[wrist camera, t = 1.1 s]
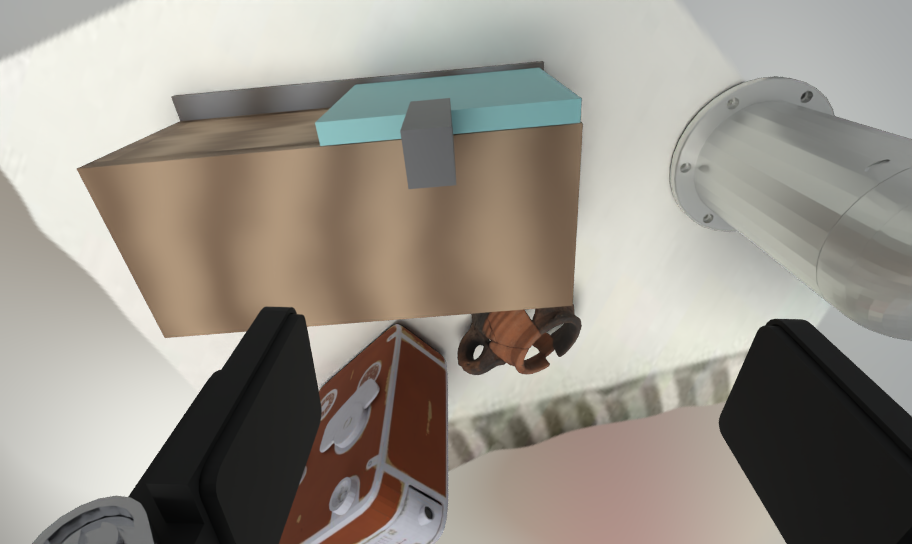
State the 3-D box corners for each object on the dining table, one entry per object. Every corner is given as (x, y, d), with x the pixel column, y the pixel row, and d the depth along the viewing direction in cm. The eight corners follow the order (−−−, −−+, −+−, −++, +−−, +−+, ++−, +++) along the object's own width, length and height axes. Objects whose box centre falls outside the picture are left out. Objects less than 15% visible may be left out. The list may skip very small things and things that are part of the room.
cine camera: (279, 407, 52) (197, 609, 35) (392, 307, 45) (359, 495, 28) (344, 444, 55) (298, 644, 38) (458, 356, 49) (464, 551, 31)
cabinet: (542, 61, 34) (584, 88, 24) (540, 228, 41) (572, 305, 31) (174, 95, 35) (59, 136, 25) (234, 254, 42) (164, 337, 32)
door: (539, 58, 33) (622, 110, 18) (538, 93, 34) (616, 171, 19) (353, 75, 34) (273, 142, 18) (360, 109, 35) (289, 199, 19)
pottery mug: (516, 237, 42) (574, 295, 37) (548, 279, 50) (600, 332, 44) (420, 323, 43) (464, 391, 38) (466, 352, 51) (507, 412, 45)
